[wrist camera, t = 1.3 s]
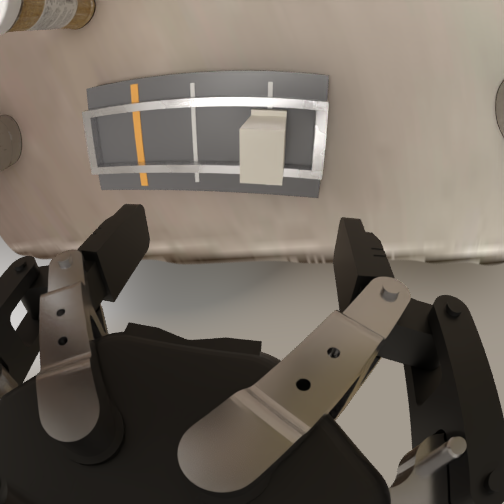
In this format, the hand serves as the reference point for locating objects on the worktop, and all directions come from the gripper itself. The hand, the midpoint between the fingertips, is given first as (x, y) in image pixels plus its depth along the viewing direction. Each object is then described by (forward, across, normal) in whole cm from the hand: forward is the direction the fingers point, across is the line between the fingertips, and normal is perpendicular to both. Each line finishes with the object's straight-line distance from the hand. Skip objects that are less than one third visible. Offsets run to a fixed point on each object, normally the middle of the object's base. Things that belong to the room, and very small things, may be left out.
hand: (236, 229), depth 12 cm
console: (+19, +7, 0) cm, 20 cm away
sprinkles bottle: (+19, +21, -16) cm, 33 cm away
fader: (+17, 0, 0) cm, 17 cm away
